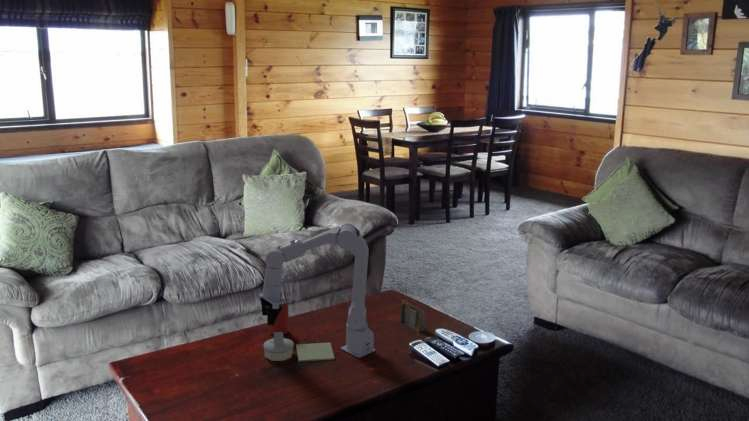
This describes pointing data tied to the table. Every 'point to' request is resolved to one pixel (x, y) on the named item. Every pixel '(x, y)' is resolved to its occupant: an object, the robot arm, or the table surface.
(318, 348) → the mat
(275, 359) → the bowl
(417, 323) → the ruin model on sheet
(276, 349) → the lid
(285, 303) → the beer can
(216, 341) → the table surface
